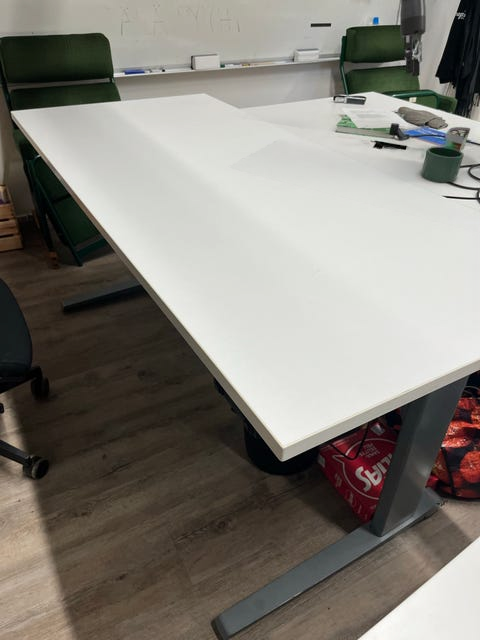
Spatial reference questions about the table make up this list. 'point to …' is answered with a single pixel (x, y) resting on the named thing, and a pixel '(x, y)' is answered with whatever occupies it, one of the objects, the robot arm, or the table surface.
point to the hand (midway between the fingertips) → (413, 74)
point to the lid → (393, 131)
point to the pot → (441, 164)
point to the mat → (382, 147)
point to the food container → (457, 138)
